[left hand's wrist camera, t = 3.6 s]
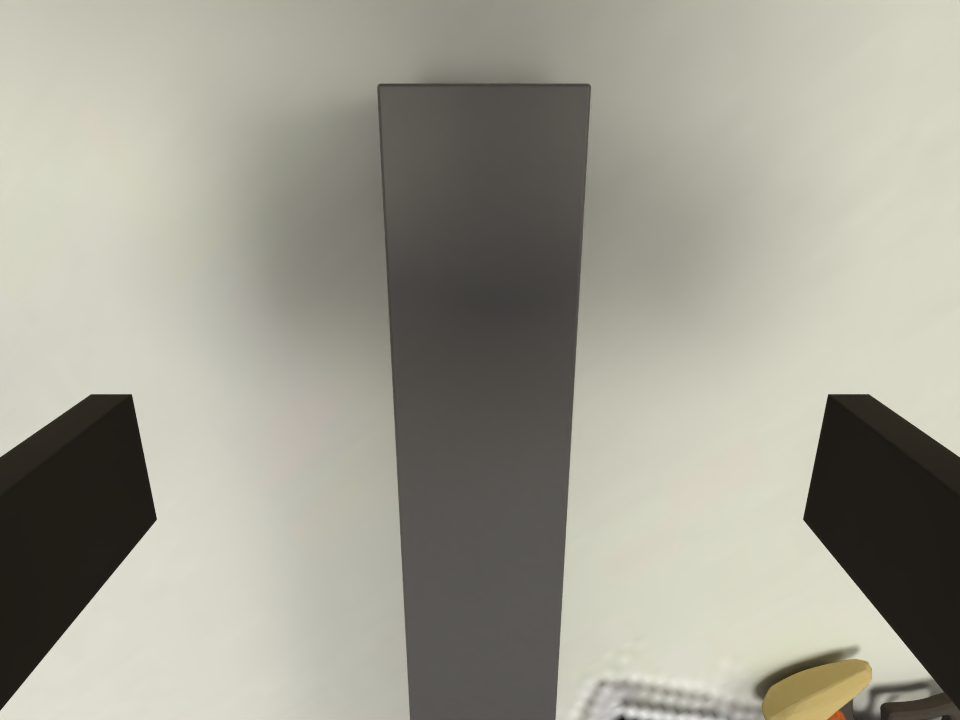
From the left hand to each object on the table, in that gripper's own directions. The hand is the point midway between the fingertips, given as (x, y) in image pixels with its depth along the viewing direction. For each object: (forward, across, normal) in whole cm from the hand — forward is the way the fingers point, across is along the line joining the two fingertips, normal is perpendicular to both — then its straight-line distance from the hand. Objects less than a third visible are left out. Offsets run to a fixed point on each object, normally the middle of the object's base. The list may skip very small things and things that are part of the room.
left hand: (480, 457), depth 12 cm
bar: (+13, 0, -32) cm, 35 cm away
